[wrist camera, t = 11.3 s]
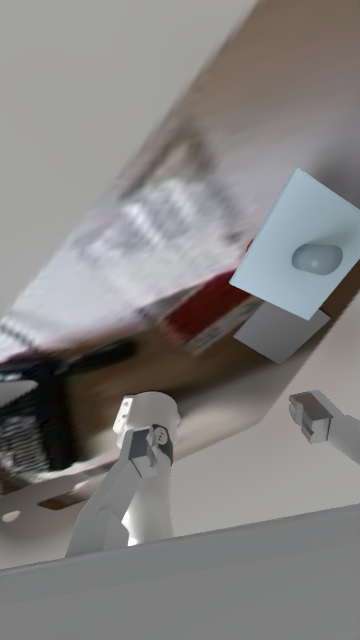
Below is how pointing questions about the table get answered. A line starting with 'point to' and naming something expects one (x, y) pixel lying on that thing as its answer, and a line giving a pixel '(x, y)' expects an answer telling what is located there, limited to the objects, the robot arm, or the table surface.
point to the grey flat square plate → (278, 331)
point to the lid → (301, 247)
